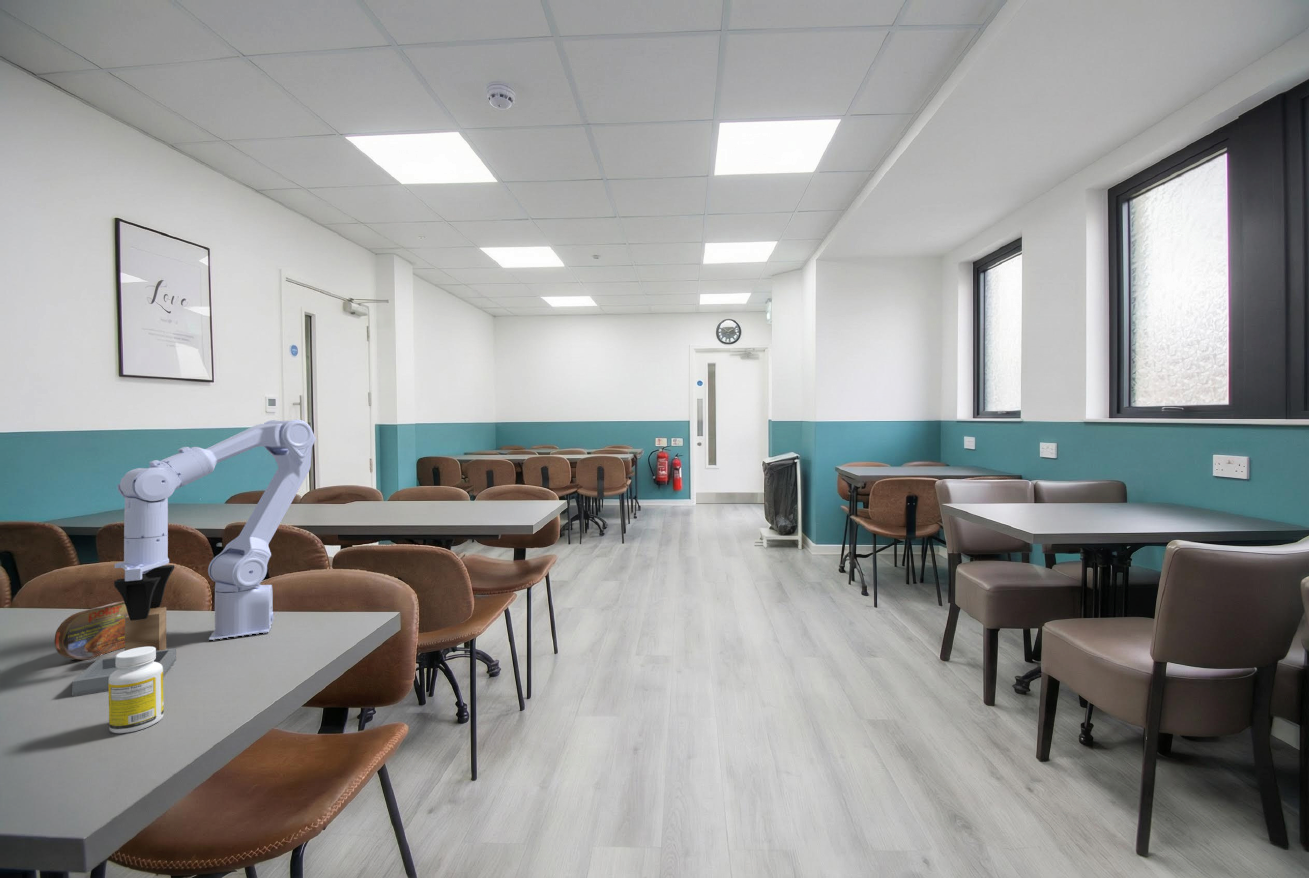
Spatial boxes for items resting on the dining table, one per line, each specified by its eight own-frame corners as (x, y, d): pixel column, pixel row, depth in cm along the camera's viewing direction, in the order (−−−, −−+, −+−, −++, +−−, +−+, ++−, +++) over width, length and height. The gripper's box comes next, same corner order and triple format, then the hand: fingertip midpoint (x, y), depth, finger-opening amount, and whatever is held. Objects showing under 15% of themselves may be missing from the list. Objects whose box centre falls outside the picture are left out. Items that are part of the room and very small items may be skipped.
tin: (64, 667, 94) (64, 617, 94) (50, 665, 95) (50, 616, 95) (159, 636, 109) (159, 593, 109) (146, 635, 110) (146, 592, 110)
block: (166, 651, 102) (166, 607, 102) (159, 659, 98) (159, 613, 98) (133, 655, 99) (133, 610, 99) (124, 664, 95) (124, 617, 95)
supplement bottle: (132, 715, 78) (132, 644, 78) (173, 713, 78) (173, 643, 78) (96, 735, 72) (96, 659, 72) (141, 733, 73) (141, 658, 73)
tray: (176, 660, 97) (176, 647, 97) (159, 682, 88) (159, 668, 88) (97, 672, 92) (97, 658, 92) (72, 696, 83) (72, 681, 83)
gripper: (129, 532, 103) (129, 605, 103) (100, 544, 90) (99, 628, 90) (179, 529, 106) (178, 600, 106) (157, 540, 94) (156, 622, 94)
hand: (145, 613), depth 98 cm, fingers open, 7 cm apart
